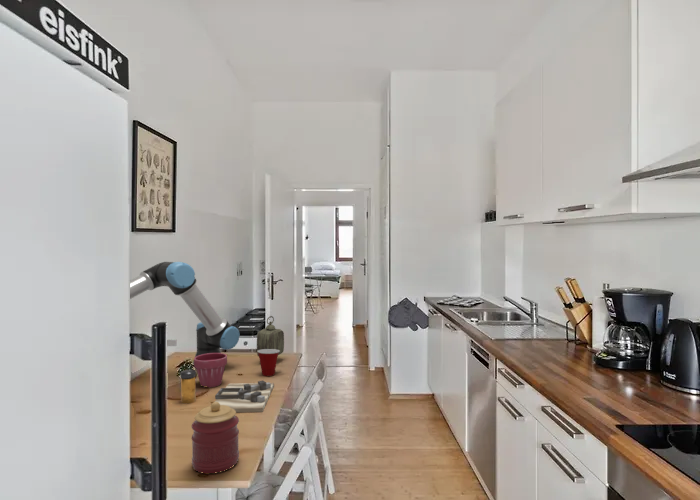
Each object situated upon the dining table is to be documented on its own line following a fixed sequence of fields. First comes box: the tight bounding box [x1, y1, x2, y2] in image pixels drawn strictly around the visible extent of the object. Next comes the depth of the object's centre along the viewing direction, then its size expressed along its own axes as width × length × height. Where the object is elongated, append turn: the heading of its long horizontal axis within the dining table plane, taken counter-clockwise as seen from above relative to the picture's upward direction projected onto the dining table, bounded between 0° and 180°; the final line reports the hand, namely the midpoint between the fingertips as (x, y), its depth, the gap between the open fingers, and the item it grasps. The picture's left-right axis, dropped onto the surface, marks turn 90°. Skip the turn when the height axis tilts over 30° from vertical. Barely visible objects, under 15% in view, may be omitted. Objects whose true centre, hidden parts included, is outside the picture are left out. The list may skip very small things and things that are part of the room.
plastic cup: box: [256, 349, 280, 377], centre depth 208 cm, size 11×11×12 cm
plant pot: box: [193, 352, 228, 389], centre depth 193 cm, size 14×14×13 cm
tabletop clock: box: [256, 315, 285, 358], centre depth 230 cm, size 14×9×25 cm, turn 160°
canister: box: [191, 401, 240, 473], centre depth 122 cm, size 13×13×18 cm
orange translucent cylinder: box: [180, 369, 197, 405], centre depth 172 cm, size 6×6×12 cm
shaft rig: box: [214, 379, 275, 414], centre depth 175 cm, size 30×20×4 cm
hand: (171, 345), depth 173 cm, fingers open, 13 cm apart
